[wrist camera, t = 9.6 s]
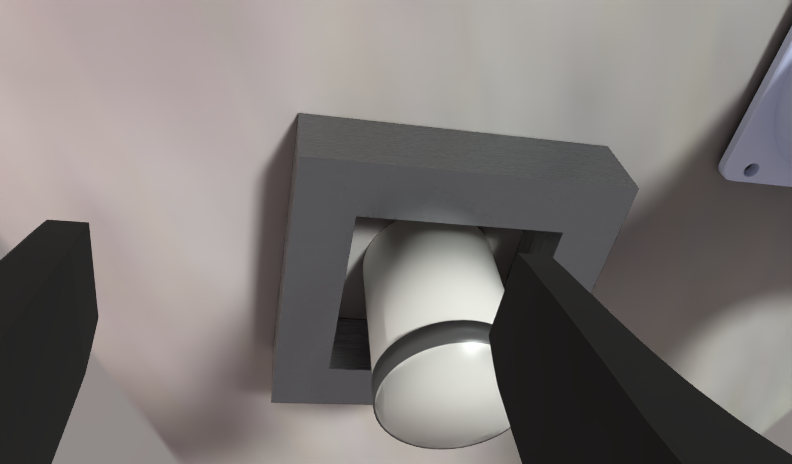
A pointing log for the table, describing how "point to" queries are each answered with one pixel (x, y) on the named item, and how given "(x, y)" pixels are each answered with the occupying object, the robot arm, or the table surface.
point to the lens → (433, 334)
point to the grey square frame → (428, 202)
